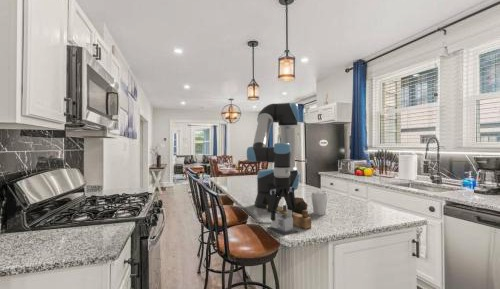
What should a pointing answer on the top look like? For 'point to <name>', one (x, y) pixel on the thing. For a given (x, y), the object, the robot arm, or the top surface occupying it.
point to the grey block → (284, 223)
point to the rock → (299, 205)
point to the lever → (278, 208)
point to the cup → (319, 202)
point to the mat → (282, 232)
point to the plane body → (299, 218)
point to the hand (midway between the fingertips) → (282, 225)
